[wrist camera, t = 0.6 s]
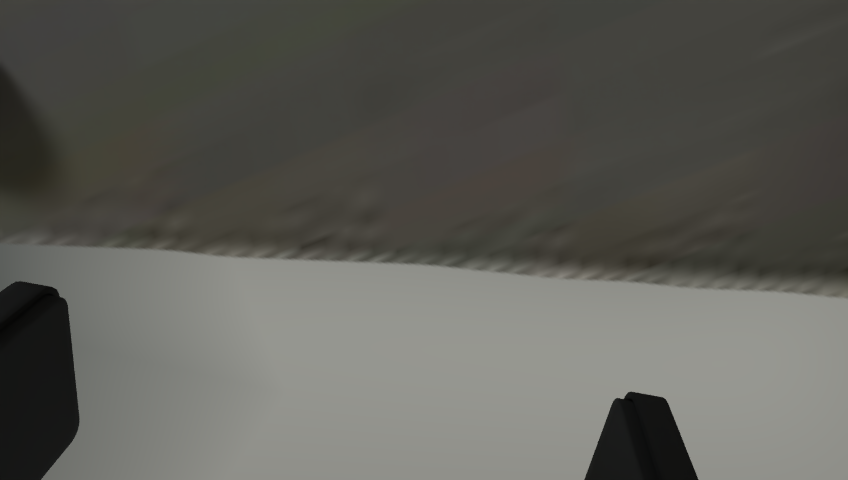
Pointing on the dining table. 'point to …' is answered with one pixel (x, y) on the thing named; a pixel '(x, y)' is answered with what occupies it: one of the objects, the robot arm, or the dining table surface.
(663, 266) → the dining table surface
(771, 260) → the dining table surface
